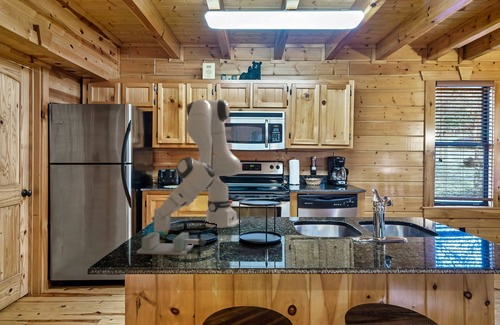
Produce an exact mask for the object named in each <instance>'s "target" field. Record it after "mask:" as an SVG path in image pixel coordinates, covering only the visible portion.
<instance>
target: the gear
mask: <svg viewBox="0 0 500 325" xmlns="http://www.w3.org/2000/svg"><path fill="white" fill-rule="evenodd" d="M150 223H151V224H149V223H148V224H146V227H144V228H143V229H142V230H143V232H142V236H143V237H145V236H146V235H148V234H150V233H151V232H158V234H159V239H160V238H161V237H162V238H163V239H166V238H165V236H166V235H165V234H166V232H160V231H154V226H153V225H154V222H153V221H152V222H150Z"/></svg>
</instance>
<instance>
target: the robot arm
mask: <svg viewBox="0 0 500 325" xmlns="http://www.w3.org/2000/svg"><path fill="white" fill-rule="evenodd" d="M230 113H231V109H230V106H229V102H228V101H226V100H225V99H206V100H205V99H197V100H195V101H192V102H190V103H188V105H187V106H186V116H187V120H186V132H187V135H188V136H189V138H190V139H191V140H192V141H193V142H194V144H195V145H196V146H197V148H198V152H199V158H198V160H196V159H195V158H192V157H190V156H187V157H186V156H185V157H184V158H182V159H181V160H179V161H178V163H177V165H176V168H175V170H176V174H177V176H178V177H179V178H180V179H182V182H180V184H178V185H177V186H176V187H175V188H174V190H172V191H171V192H170V193H169V194H168V197H167V198H166V199H165V201H164V202H163V203H162V204H161V205H160V206H159V207H158V208H159V209H158V211H157V212H158V213H159V216H158V217H157V218H156V220H157V221H161V220H162V219H163V217H165V216H167V215H169V214H170V215H171V214H174V213H175V212H178V211H179V210H180V209H182V207H185V206H186V207H188V206H190V205H191V204H192V203H193V202H194V201H195V199H197V198H198V196H199V194H200V193H202V192H203V191H205V190H207V189H208V190H207V192H208V200H207V210H206V217H205V222H206V221H207V222H209V223H215V224H217V228H216V229H221V228H223V229H225V228H233V227H235V226H237V225H239V224H240V223H242V220H240V219H238V212H237V211H235V209H233V208H232V207H231V205H232V204H233V200H232V199H231V200H230V199H229V186H228V185H227V184H226V183H225V182H223V181H222V180H221V179H220V176H221V177H223V176H224V177H230V176H236V175H238V174H240V171H241V168H242V164H241V160H240V159H239V158H238V157H237V156H236V155H234V154H233V153H232V151H231V150H230V149H229V146H228V142H227V136H226V126H225V120H228V118H229V116H230ZM214 154H215V155H214ZM239 220H240V223H239ZM205 226H206V227H207V228H211V229H212V228H213V227H215V225H211V224H207V223H206V224H205Z"/></svg>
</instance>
